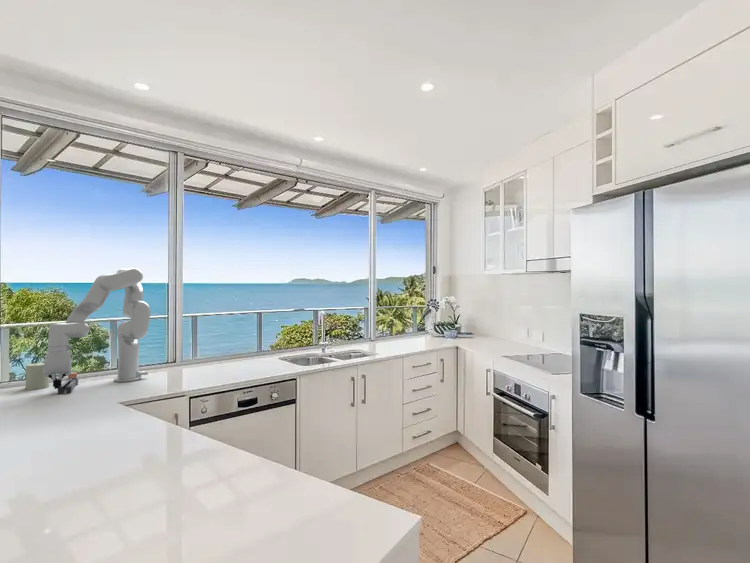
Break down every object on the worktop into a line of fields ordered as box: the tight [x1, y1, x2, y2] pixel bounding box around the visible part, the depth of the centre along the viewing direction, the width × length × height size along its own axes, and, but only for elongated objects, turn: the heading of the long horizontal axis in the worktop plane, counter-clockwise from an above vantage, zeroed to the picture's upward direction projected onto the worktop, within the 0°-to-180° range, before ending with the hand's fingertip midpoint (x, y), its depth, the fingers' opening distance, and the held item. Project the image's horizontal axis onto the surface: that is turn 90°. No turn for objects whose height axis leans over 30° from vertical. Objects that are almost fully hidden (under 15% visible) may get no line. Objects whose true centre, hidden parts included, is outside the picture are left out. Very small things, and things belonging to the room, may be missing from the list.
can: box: [24, 362, 50, 391], centre depth 200 cm, size 9×9×12 cm
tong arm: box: [57, 380, 71, 395], centre depth 194 cm, size 18×2×3 cm, turn 27°
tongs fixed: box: [65, 376, 79, 394], centre depth 197 cm, size 23×5×3 cm, turn 30°
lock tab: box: [67, 372, 78, 378], centre depth 206 cm, size 2×3×2 cm
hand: (57, 388), depth 191 cm, fingers closed
